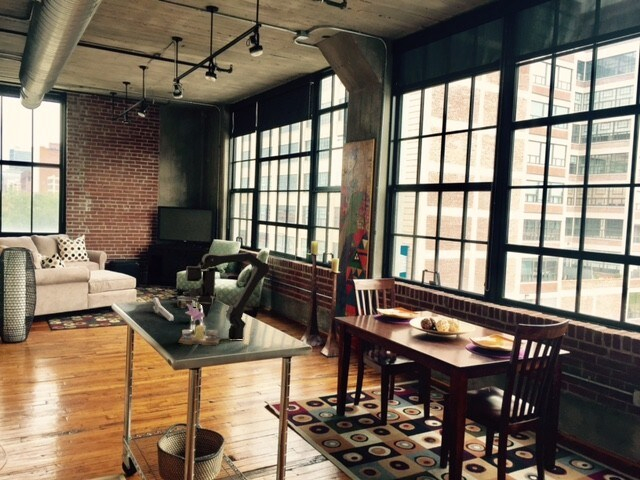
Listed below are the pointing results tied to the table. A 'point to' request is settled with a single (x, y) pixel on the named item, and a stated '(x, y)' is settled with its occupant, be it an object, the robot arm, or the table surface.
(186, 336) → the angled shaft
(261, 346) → the table surface
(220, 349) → the table surface
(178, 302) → the book
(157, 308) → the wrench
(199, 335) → the yellow knobbed block
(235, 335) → the robot arm
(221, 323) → the table surface
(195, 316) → the lily
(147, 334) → the table surface
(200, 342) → the base plate
